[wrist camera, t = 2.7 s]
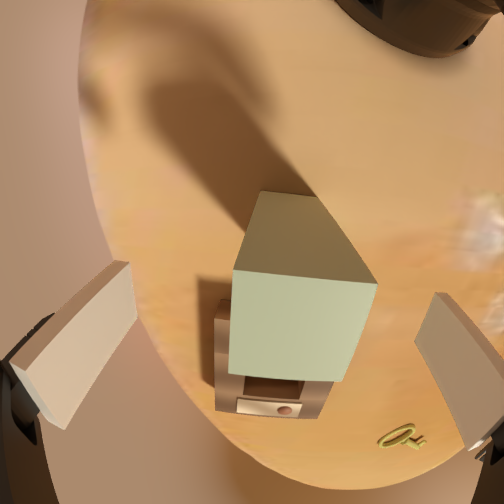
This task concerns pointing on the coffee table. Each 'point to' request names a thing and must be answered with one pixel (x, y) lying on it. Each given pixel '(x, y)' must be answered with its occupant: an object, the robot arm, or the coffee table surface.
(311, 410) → the socket block
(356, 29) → the coffee table surface
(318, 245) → the sage peg
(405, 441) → the key
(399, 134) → the coffee table surface
